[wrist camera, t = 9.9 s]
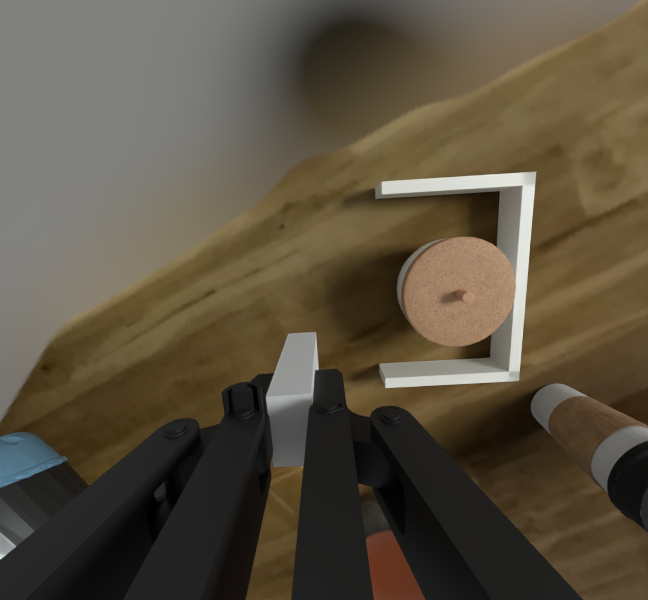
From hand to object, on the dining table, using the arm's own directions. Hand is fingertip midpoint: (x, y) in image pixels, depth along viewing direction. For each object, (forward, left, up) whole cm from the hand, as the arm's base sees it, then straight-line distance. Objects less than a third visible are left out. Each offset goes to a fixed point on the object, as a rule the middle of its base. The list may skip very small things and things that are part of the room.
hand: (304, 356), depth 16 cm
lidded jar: (+14, 0, -21) cm, 25 cm away
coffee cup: (+30, -17, -20) cm, 40 cm away
